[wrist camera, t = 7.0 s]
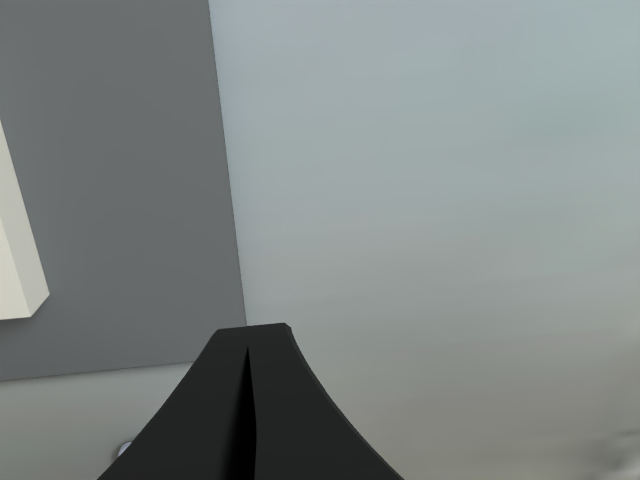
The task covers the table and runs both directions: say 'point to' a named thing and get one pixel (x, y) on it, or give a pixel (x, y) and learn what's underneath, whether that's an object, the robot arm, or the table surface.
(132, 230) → the desk mat
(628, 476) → the table surface
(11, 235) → the card box
